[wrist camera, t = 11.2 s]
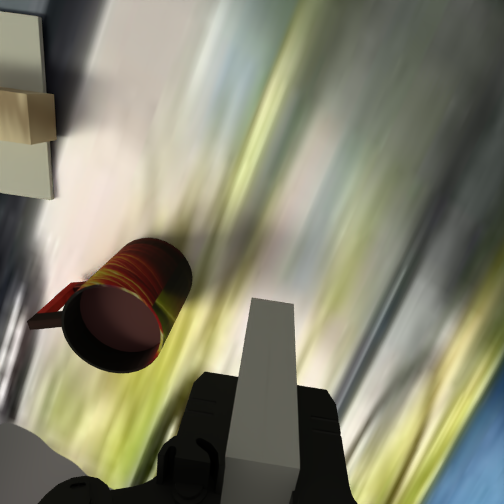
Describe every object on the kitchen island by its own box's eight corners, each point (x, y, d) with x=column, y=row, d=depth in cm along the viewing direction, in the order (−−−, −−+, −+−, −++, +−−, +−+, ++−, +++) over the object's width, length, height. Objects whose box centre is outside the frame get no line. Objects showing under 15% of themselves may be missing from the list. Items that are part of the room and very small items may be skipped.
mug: (73, 280, 48) (9, 335, 37) (158, 222, 44) (116, 264, 33) (123, 337, 51) (78, 404, 40) (208, 287, 47) (184, 346, 36)
